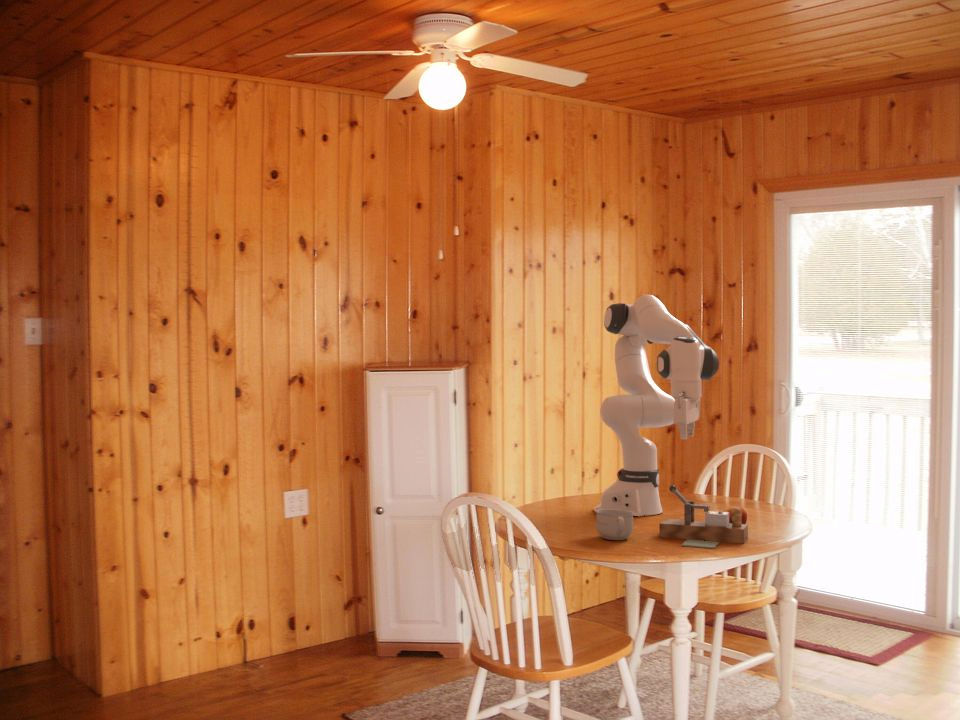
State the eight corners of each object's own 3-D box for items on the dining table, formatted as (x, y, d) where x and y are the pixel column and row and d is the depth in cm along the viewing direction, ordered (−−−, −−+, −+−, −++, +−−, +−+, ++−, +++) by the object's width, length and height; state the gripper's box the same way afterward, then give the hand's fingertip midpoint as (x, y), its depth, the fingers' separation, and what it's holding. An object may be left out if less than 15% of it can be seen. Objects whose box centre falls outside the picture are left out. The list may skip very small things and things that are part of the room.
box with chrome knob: (705, 525, 272) (705, 512, 272) (708, 522, 276) (708, 509, 276) (726, 527, 270) (726, 513, 270) (729, 524, 274) (729, 510, 274)
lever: (668, 509, 277) (667, 485, 277) (671, 507, 280) (670, 484, 280) (707, 512, 272) (707, 488, 272) (710, 510, 276) (710, 486, 275)
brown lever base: (659, 537, 277) (659, 502, 277) (665, 532, 283) (665, 498, 283) (743, 543, 267) (743, 508, 266) (747, 538, 273) (747, 503, 273)
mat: (681, 546, 265) (681, 544, 265) (687, 540, 271) (687, 539, 271) (714, 548, 261) (714, 547, 261) (719, 543, 268) (719, 541, 268)
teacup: (596, 534, 282) (595, 507, 282) (633, 534, 281) (632, 507, 281) (597, 545, 268) (596, 516, 268) (636, 545, 267) (635, 517, 267)
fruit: (737, 529, 279) (727, 503, 282) (721, 538, 285) (711, 513, 289) (757, 526, 283) (747, 501, 286) (741, 535, 289) (732, 511, 292)
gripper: (690, 392, 270) (690, 441, 270) (703, 390, 289) (704, 435, 289) (667, 392, 273) (668, 441, 273) (682, 390, 292) (683, 435, 292)
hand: (687, 438), depth 281 cm, fingers open, 8 cm apart
